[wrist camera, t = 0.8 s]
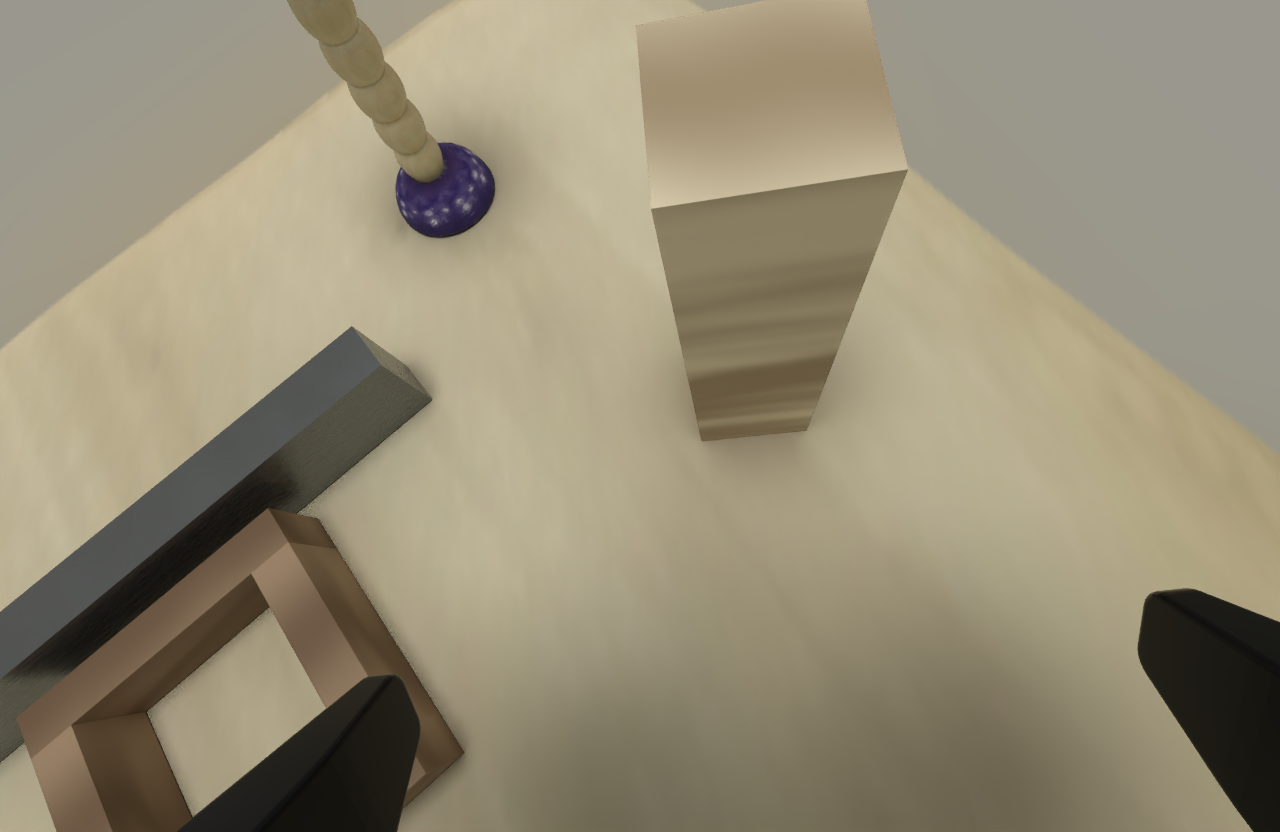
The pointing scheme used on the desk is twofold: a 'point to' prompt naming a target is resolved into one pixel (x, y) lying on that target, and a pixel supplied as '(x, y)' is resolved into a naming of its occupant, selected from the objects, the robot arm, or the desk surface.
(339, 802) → the robot arm
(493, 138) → the desk surface
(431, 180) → the toy lamp
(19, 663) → the rail
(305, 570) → the collar
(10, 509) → the desk surface
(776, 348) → the wooden square post
